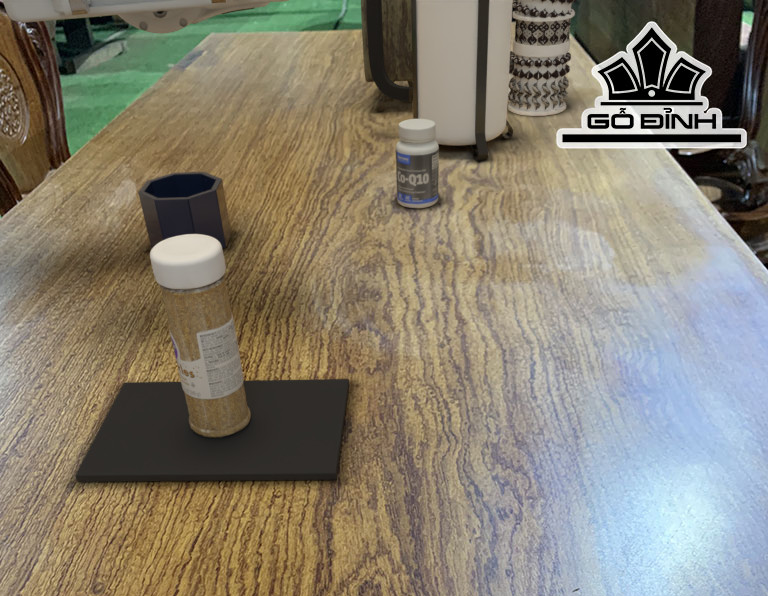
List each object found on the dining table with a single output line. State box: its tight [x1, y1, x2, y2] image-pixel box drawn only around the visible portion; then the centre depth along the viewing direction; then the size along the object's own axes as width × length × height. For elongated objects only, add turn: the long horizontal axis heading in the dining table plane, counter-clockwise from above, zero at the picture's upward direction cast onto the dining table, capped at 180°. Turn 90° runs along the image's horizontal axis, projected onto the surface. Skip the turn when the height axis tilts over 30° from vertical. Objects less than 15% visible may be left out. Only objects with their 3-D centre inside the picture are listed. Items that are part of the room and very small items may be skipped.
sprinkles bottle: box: [149, 234, 251, 438], centre depth 56 cm, size 5×5×14 cm
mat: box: [75, 378, 350, 483], centre depth 61 cm, size 18×12×1 cm, turn 88°
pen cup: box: [137, 171, 232, 250], centre depth 86 cm, size 8×8×6 cm
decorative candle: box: [507, 0, 578, 117], centre depth 112 cm, size 9×9×25 cm
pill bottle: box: [395, 118, 440, 209], centre depth 91 cm, size 5×5×8 cm
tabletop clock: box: [360, 0, 413, 112], centre depth 118 cm, size 14×9×25 cm, turn 175°
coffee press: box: [366, 0, 514, 162], centre depth 99 cm, size 17×16×30 cm
